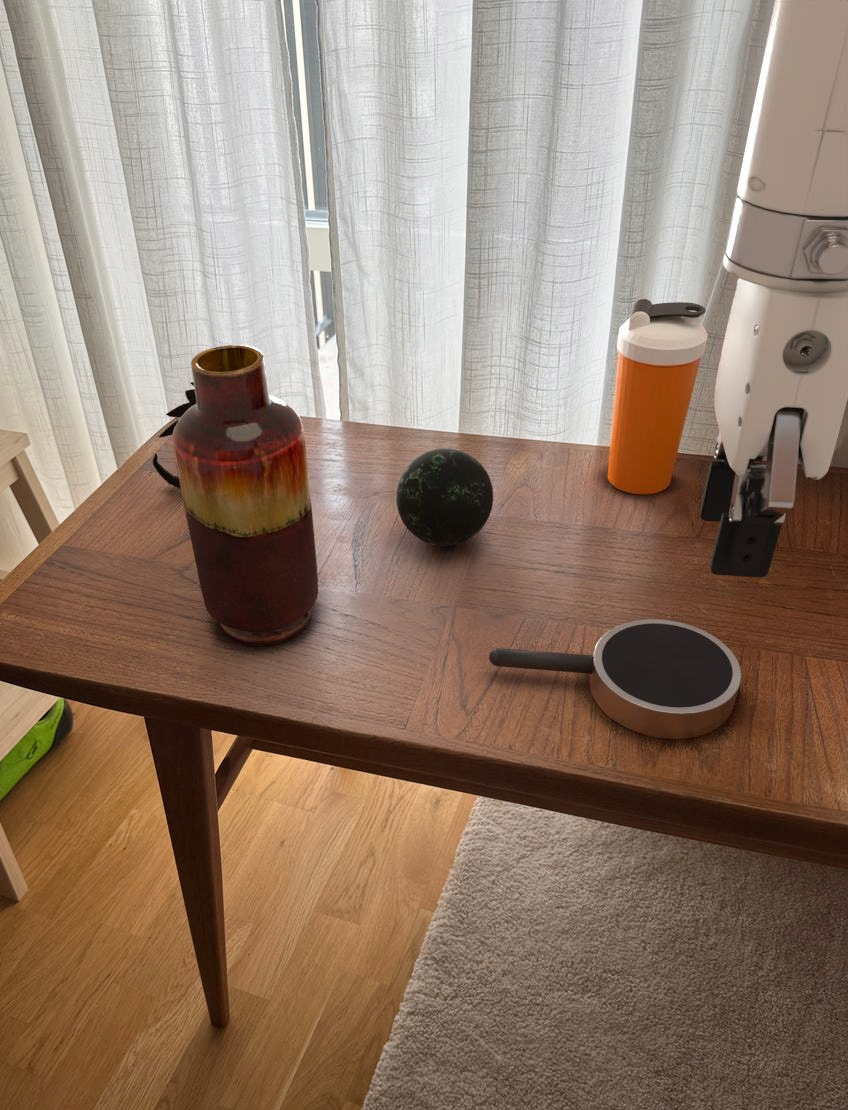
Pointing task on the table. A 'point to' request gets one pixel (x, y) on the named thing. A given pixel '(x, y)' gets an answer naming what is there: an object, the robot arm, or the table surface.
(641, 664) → the pan
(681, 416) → the shaker bottle
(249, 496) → the vase
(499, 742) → the table surface
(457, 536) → the decorative stone
